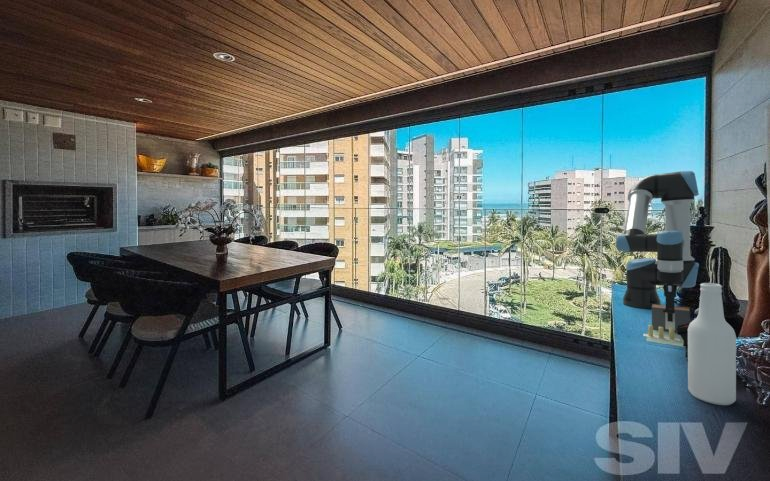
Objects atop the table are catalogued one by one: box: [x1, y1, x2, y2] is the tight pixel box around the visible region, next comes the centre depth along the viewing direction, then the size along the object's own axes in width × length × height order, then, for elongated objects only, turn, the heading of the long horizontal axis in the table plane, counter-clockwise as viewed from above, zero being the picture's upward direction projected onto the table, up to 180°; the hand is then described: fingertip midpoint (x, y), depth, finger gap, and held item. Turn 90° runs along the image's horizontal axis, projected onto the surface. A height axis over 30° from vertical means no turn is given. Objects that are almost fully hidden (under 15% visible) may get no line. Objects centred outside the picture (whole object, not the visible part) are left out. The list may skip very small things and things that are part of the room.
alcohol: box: [687, 282, 737, 406], centre depth 83 cm, size 9×9×30 cm
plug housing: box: [651, 304, 691, 333], centre depth 126 cm, size 5×11×9 cm, turn 48°
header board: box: [642, 324, 685, 350], centre depth 122 cm, size 20×13×5 cm, turn 138°
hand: (670, 324), depth 126 cm, fingers open, 13 cm apart
